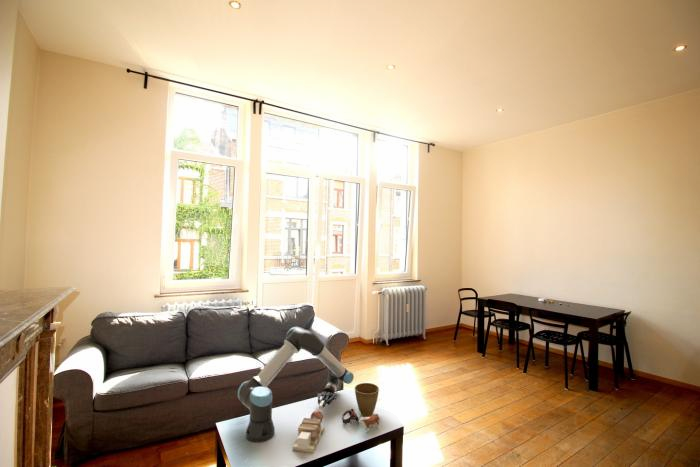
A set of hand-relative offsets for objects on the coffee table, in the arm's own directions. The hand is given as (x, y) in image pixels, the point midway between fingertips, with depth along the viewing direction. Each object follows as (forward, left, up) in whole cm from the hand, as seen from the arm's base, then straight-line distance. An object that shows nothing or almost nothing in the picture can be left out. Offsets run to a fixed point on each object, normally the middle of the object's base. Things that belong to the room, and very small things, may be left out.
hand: (320, 408), depth 199 cm
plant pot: (+26, +11, -7) cm, 29 cm away
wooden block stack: (0, -16, -6) cm, 17 cm away
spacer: (0, -30, -4) cm, 30 cm away
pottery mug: (+19, 0, -7) cm, 20 cm away
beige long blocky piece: (0, -22, -6) cm, 23 cm away
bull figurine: (+30, -5, -7) cm, 31 cm away
